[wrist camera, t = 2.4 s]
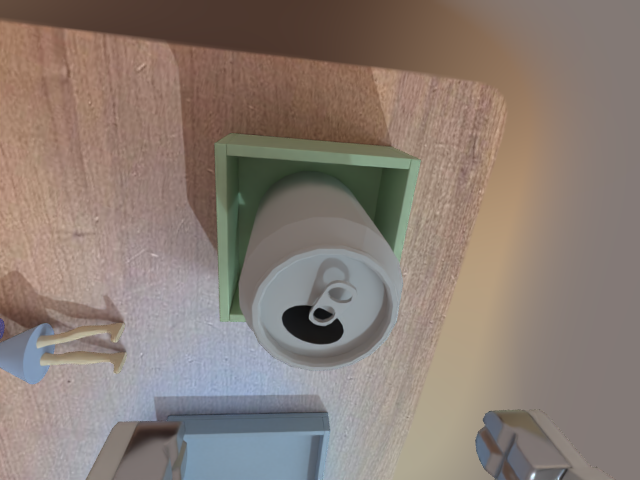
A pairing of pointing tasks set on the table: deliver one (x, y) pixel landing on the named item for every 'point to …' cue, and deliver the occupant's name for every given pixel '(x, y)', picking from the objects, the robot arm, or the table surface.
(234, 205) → the bin
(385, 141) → the table surface
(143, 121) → the table surface
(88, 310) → the table surface
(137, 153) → the table surface
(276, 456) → the tray
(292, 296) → the can
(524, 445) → the robot arm
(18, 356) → the fairy figurine
